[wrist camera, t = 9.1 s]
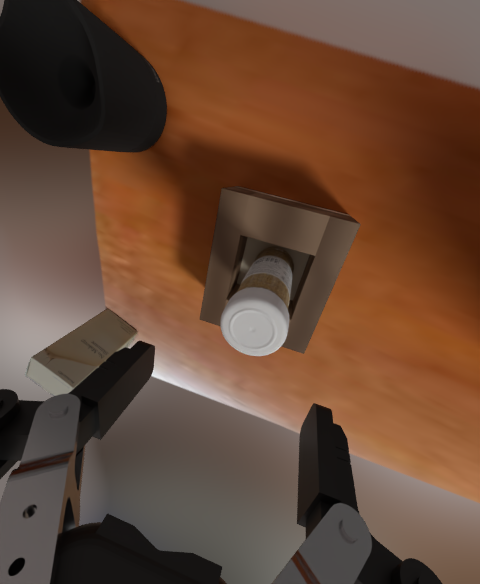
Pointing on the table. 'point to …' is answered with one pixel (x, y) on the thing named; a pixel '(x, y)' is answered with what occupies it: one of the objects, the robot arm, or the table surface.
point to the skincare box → (79, 353)
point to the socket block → (281, 234)
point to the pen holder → (77, 79)
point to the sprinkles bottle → (260, 305)
